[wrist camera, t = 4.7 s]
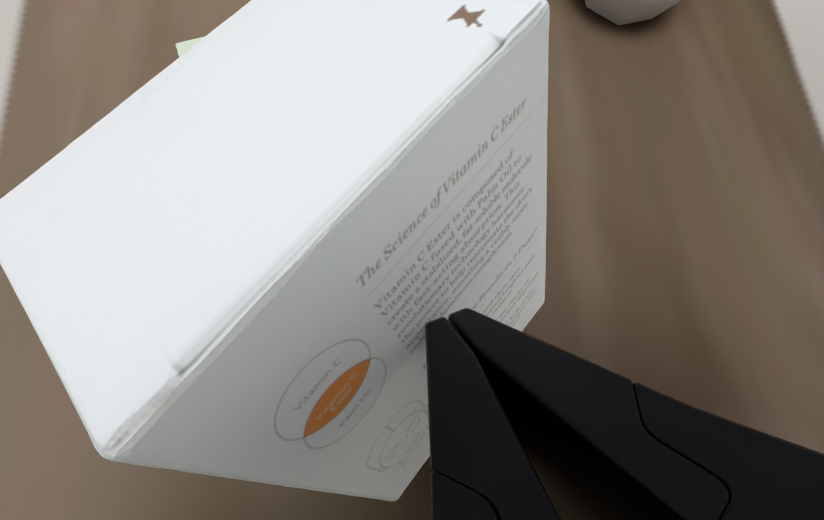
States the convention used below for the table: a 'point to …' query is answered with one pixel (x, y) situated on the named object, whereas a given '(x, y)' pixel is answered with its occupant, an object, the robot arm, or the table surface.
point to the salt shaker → (629, 9)
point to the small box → (291, 236)
